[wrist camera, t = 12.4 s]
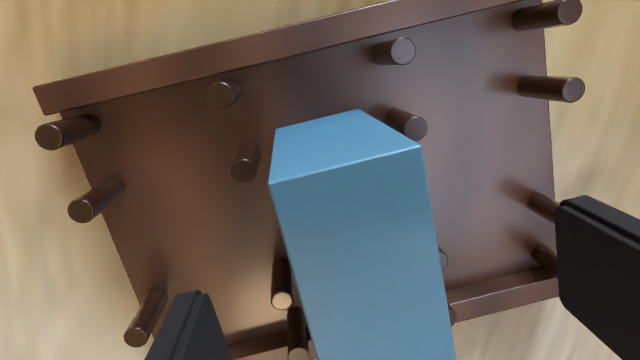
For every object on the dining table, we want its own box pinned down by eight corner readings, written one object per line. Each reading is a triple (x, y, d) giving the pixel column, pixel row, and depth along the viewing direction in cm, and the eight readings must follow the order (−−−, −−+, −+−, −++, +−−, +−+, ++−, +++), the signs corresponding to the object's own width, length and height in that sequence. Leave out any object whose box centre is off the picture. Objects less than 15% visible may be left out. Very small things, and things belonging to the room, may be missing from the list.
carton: (275, 128, 19) (266, 183, 10) (358, 108, 19) (422, 144, 10) (314, 277, 21) (336, 427, 12) (389, 259, 21) (463, 394, 12)
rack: (176, 364, 23) (152, 431, 19) (62, 84, 18) (-4, 89, 14) (547, 270, 23) (604, 315, 19) (524, -27, 19) (594, -54, 15)
